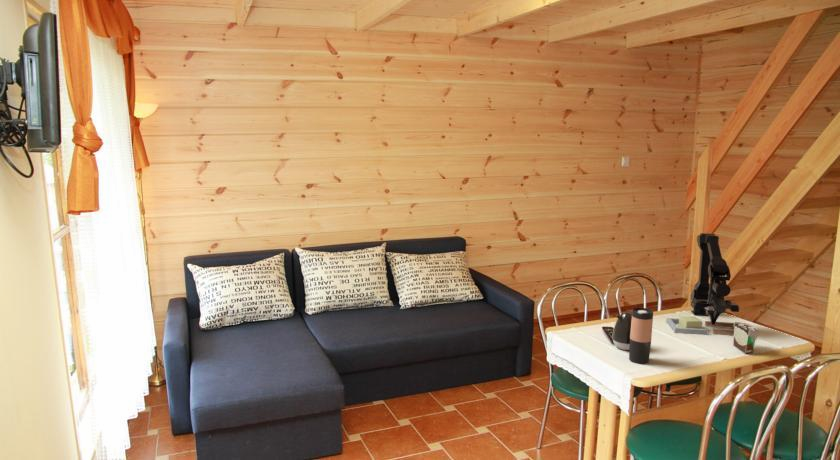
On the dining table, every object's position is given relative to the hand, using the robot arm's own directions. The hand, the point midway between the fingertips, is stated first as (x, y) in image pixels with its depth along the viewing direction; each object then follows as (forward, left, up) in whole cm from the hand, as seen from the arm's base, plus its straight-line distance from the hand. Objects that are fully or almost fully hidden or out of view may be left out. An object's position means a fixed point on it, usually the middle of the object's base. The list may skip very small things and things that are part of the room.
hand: (712, 324), depth 263 cm
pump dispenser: (+31, -43, -3) cm, 53 cm away
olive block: (+1, -10, -3) cm, 10 cm away
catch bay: (0, -10, -2) cm, 11 cm away
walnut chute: (0, +7, -2) cm, 7 cm away
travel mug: (+44, -40, -3) cm, 60 cm away
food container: (+24, +6, -3) cm, 25 cm away
